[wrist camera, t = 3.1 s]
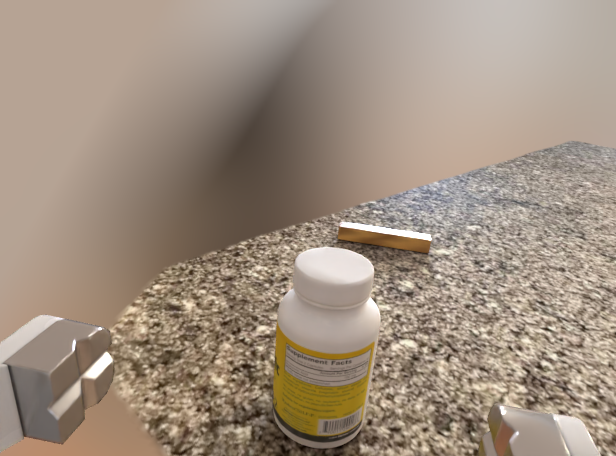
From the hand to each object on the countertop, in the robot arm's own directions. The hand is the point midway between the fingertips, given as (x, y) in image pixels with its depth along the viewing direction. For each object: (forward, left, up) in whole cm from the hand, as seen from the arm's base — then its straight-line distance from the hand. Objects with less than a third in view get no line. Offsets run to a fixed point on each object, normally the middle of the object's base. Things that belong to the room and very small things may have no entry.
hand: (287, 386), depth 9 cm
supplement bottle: (0, +12, -13) cm, 18 cm away
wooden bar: (+3, +38, -13) cm, 40 cm away
